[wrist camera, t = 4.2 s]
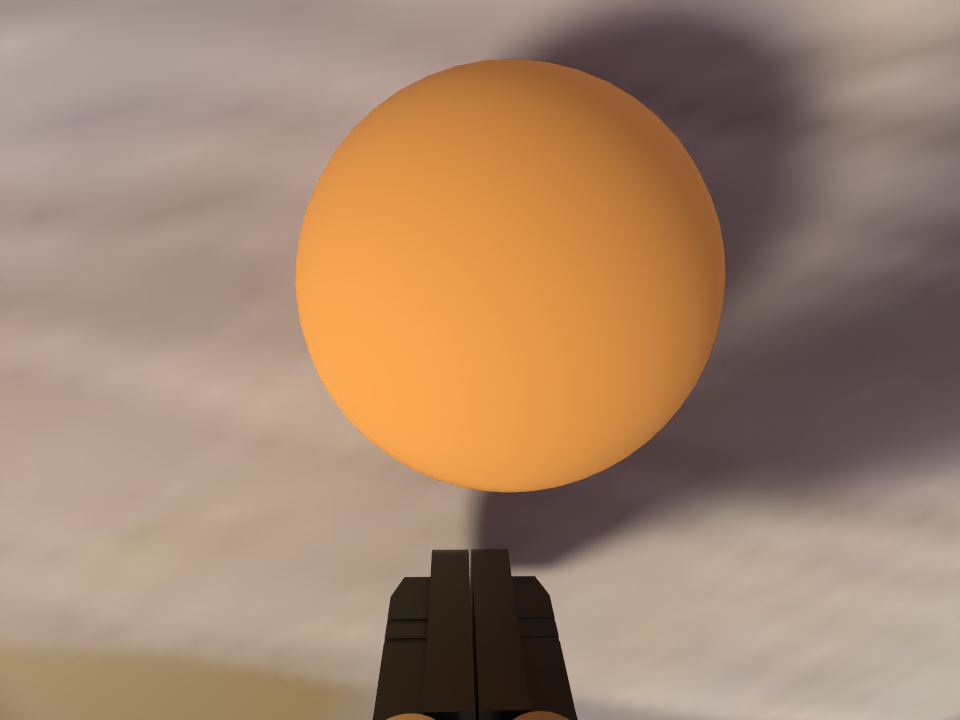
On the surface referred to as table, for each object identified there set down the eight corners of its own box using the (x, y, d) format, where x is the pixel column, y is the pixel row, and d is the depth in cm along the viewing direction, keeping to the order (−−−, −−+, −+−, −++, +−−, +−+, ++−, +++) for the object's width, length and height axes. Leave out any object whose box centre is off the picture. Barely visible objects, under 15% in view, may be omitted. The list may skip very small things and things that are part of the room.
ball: (332, 87, 9) (180, -15, 4) (660, 95, 10) (898, 8, 4) (349, 397, 11) (256, 595, 6) (628, 398, 11) (773, 589, 6)
